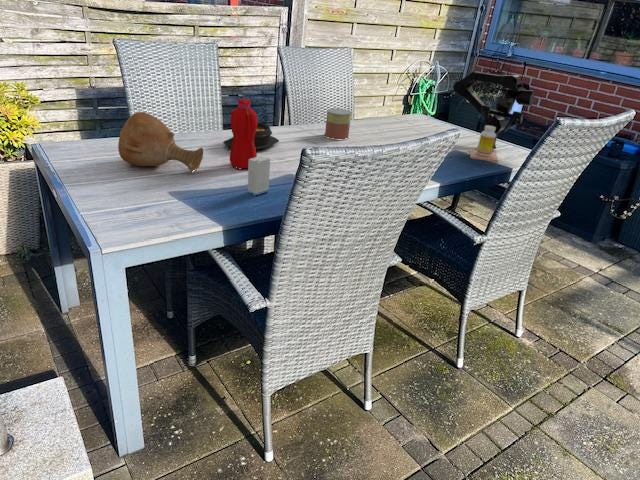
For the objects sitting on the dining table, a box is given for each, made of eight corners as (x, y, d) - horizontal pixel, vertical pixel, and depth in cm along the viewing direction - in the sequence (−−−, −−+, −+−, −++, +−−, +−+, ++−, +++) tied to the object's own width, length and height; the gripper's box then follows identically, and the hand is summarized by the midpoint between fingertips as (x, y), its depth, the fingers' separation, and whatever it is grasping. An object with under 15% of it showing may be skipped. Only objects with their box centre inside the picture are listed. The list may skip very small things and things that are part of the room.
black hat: (241, 156, 199) (241, 136, 195) (214, 144, 210) (214, 124, 206) (288, 147, 215) (289, 128, 211) (260, 136, 226) (261, 117, 222)
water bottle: (237, 172, 183) (237, 103, 171) (227, 162, 191) (227, 96, 180) (260, 170, 187) (263, 103, 175) (250, 161, 195) (251, 96, 184)
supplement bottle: (491, 157, 225) (499, 129, 219) (476, 155, 226) (483, 127, 220) (490, 153, 231) (497, 126, 225) (475, 151, 232) (482, 123, 226)
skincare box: (260, 188, 171) (261, 154, 166) (269, 192, 169) (270, 158, 163) (246, 193, 167) (247, 158, 161) (256, 197, 164) (257, 162, 159)
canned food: (352, 137, 238) (355, 111, 232) (340, 141, 229) (343, 115, 224) (332, 132, 243) (335, 107, 237) (320, 136, 234) (322, 110, 229)
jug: (138, 120, 189) (214, 139, 188) (122, 167, 187) (199, 187, 185) (117, 97, 170) (201, 118, 168) (99, 149, 167) (184, 171, 166)
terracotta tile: (469, 150, 235) (469, 148, 234) (495, 154, 233) (495, 152, 232) (470, 158, 224) (470, 156, 224) (497, 162, 222) (498, 160, 222)
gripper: (486, 86, 229) (472, 114, 226) (527, 94, 220) (513, 123, 216) (488, 102, 238) (475, 128, 235) (528, 110, 229) (514, 138, 226)
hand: (493, 129), depth 228 cm, fingers open, 9 cm apart
